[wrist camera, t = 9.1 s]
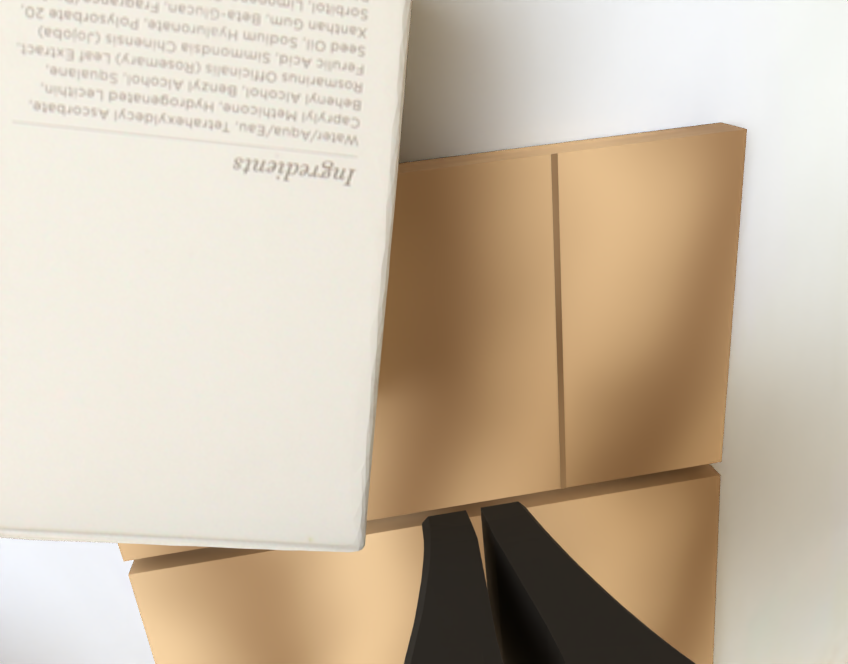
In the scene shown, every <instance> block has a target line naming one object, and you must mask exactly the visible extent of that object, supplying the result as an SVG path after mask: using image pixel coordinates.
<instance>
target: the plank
mask: <svg viewBox="0 0 848 664" xmlns="http://www.w3.org/2000/svg"><path fill="white" fill-rule="evenodd" d="M719 497H720V474H719V473H718V472H717V471H716V470H715V469H714V468H713V467H712V466H711V465H710V464H705V465H699V466H693V467H687V468H681V469H675V470H669V471H663V472H657V473H651V474H645V475H639V476H633V477H627V478H621V479H615V480H609V481H603V482H597V483H591V484H585V485H579V486H573V487H567V488H565V489H555V490H549V491H543V492H537V493H531V494H525V495H519V496H513V497H507V498H501V499H495V500H489V501H483V502H477V503H471V504H465V505H459V506H453V507H447V508H441V509H435V510H429V511H423V512H417V513H411V514H405V515H399V516H393V517H387V518H381V519H375V520H369V521H367V524H366V538H365V546H364V548H363V549H362V550H360V551H355V552H328V551H304V550H269V549H242V548H222V547H207V548H201V549H195V550H189V551H183V552H177V553H171V554H165V555H159V556H153V557H147V558H141V559H135V560H134V562H133V564H132V567H131V569H130V572H129V578H130V582H131V585H132V588H133V592H134V595H135V598H136V601H137V605H138V608H139V611H140V615H141V618H142V621H143V624H144V628H145V631H146V634H147V638H148V641H149V644H150V647H151V651H152V654H153V657H154V661H155V664H404V661H405V657H406V653H407V649H408V645H409V641H410V636H411V632H412V628H413V624H414V619H415V615H416V609H417V603H418V597H419V591H420V585H421V578H422V568H423V556H424V539H423V531H422V523H423V521H424V520H425V519H426V518H427V517H428V516H434V515H440V514H446V513H451V512H457V511H463V510H466V512H467V514H468V516H469V518H470V521H471V523H472V525H473V528H474V530H475V533H476V535H477V538H478V543H479V548H480V553H481V558H482V564H483V569H484V574H485V579H486V568H485V556H484V544H483V532H482V520H481V507H487V506H493V505H499V504H505V503H511V502H517V501H518V502H520V503H521V504H522V505H524V506H525V507H526V508H527V509H528V511H529V512H530V513H531V514H532V515H533V516H534V518H535V519H536V520H537V521H538V522H539V523H540V524H541V526H542V527H543V528H544V529H545V530H546V531H547V532H548V533H549V534H550V536H551V537H552V538H553V539H554V540H555V541H556V542H557V543H558V544H559V545H560V546H561V547H562V548H563V549H564V550H565V551H566V552H567V553H568V555H569V556H570V557H571V558H572V559H573V560H574V561H575V562H576V563H577V564H578V565H579V566H580V567H582V568H583V569H584V570H585V571H586V572H587V573H588V574H589V575H590V576H591V577H592V578H593V579H594V580H595V581H596V582H597V583H598V584H599V585H600V586H601V587H603V588H604V589H605V590H606V591H607V592H608V593H609V594H610V595H611V596H612V597H613V598H615V599H616V600H617V601H618V602H619V603H620V604H621V605H622V606H623V607H625V608H626V609H627V610H628V611H629V612H631V613H632V614H633V615H634V616H635V617H636V618H638V619H639V620H640V621H641V622H642V623H644V624H645V625H646V626H647V627H648V628H650V629H651V630H652V631H653V632H655V633H656V634H657V635H658V636H660V637H661V638H662V639H663V640H665V641H666V642H667V643H669V644H670V645H671V646H672V647H674V648H675V649H676V650H678V651H679V652H680V653H682V654H683V655H685V656H686V657H687V658H689V659H690V660H691V661H693V662H694V663H695V664H713V649H714V624H715V598H716V573H717V547H718V522H719ZM486 585H487V580H486Z"/></svg>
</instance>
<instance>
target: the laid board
mask: <svg viewBox="0 0 848 664" xmlns="http://www.w3.org/2000/svg"><path fill="white" fill-rule="evenodd" d="M746 133H747V129H744V128H740V127H736V126H732V125H728V124H724V123H714V124H706V125H698V126H690V127H682V128H674V129H666V130H658V131H650V132H643V133H635V134H627V135H619V136H611V137H603V138H595V139H587V140H579V141H572V142H564V143H556V144H548V145H540V146H532V147H524V148H516V149H508V150H500V151H493V152H485V153H477V154H469V155H461V156H453V157H445V158H437V159H429V160H422V161H414V162H406V163H398V174H397V186H396V197H395V209H394V219H393V230H392V241H391V252H390V264H389V279H388V288H387V298H386V308H385V319H384V329H383V340H382V350H381V361H380V373H379V384H378V395H377V407H376V419H375V430H374V441H373V453H372V464H371V475H370V487H369V498H368V511H367V521H369V520H375V519H381V518H387V517H393V516H399V515H405V514H411V513H417V512H423V511H429V510H435V509H441V508H447V507H453V506H459V505H465V504H471V503H477V502H483V501H489V500H495V499H501V498H507V497H513V496H519V495H525V494H531V493H537V492H543V491H549V490H555V489H565V488H567V487H573V486H579V485H585V484H591V483H597V482H603V481H609V480H615V479H621V478H627V477H633V476H639V475H645V474H651V473H657V472H663V471H669V470H675V469H681V468H687V467H693V466H699V465H705V464H711V463H717V462H721V460H722V447H723V434H724V421H725V408H726V395H727V382H728V369H729V356H730V343H731V329H732V316H733V303H734V290H735V277H736V264H737V251H738V238H739V225H740V212H741V199H742V186H743V173H744V160H745V147H746ZM118 546H119V549H120V552H121V554H122V557H123V560H124V561H129V560H135V559H141V558H147V557H153V556H159V555H165V554H171V553H177V552H183V551H189V550H195V549H201V548H207V547H201V546H168V545H151V544H129V543H118Z"/></svg>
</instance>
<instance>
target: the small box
mask: <svg viewBox="0 0 848 664" xmlns="http://www.w3.org/2000/svg"><path fill="white" fill-rule="evenodd" d="M411 7H412V0H0V538H13V539H25V540H50V541H76V542H104V543H129V544H151V545H168V546H201V547H222V548H242V549H269V550H304V551H328V552H355V551H360V550H362V549H363V548H364V546H365V538H366V524H367V511H368V498H369V487H370V475H371V464H372V453H373V441H374V430H375V419H376V407H377V395H378V384H379V373H380V361H381V350H382V340H383V329H384V319H385V308H386V298H387V288H388V279H389V264H390V252H391V241H392V230H393V219H394V209H395V197H396V186H397V174H398V162H399V150H400V138H401V126H402V114H403V103H404V91H405V77H406V65H407V54H408V42H409V31H410V19H411Z"/></svg>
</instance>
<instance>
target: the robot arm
mask: <svg viewBox="0 0 848 664" xmlns="http://www.w3.org/2000/svg"><path fill="white" fill-rule="evenodd" d="M481 520H482V532H483V544H484V556H485V568H486V579H485V574H484V569H483V564H482V558H481V553H480V548H479V543H478V538H477V535H476V533H475V530H474V528H473V525H472V523H471V521H470V518H469V516H468V514H467V512H466V510H463V511H457V512H451V513H446V514H440V515H434V516H428V517H427V518H426V519H425V520H424V521H423V523H422V531H423V539H424V556H423V568H422V578H421V585H420V591H419V597H418V603H417V609H416V615H415V619H414V624H413V628H412V632H411V636H410V641H409V645H408V649H407V653H406V657H405V661H404V664H695V663H694V662H693V661H691V660H690V659H689V658H687V657H686V656H685V655H683V654H682V653H680V652H679V651H678V650H676V649H675V648H674V647H672V646H671V645H670V644H669V643H667V642H666V641H665V640H663V639H662V638H661V637H660V636H658V635H657V634H656V633H655V632H653V631H652V630H651V629H650V628H648V627H647V626H646V625H645V624H644V623H642V622H641V621H640V620H639V619H638V618H636V617H635V616H634V615H633V614H632V613H631V612H629V611H628V610H627V609H626V608H625V607H623V606H622V605H621V604H620V603H619V602H618V601H617V600H616V599H615V598H613V597H612V596H611V595H610V594H609V593H608V592H607V591H606V590H605V589H604V588H603V587H601V586H600V585H599V584H598V583H597V582H596V581H595V580H594V579H593V578H592V577H591V576H590V575H589V574H588V573H587V572H586V571H585V570H584V569H583V568H582V567H580V566H579V565H578V564H577V563H576V562H575V561H574V560H573V559H572V558H571V557H570V556H569V555H568V553H567V552H566V551H565V550H564V549H563V548H562V547H561V546H560V545H559V544H558V543H557V542H556V541H555V540H554V539H553V538H552V537H551V536H550V534H549V533H548V532H547V531H546V530H545V529H544V528H543V527H542V526H541V524H540V523H539V522H538V521H537V520H536V519H535V518H534V516H533V515H532V514H531V513H530V512H529V511H528V509H527V508H526V507H525V506H524V505H522V504H521V503H520V502H518V501H517V502H511V503H505V504H499V505H493V506H487V507H481ZM486 580H487V585H486Z"/></svg>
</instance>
